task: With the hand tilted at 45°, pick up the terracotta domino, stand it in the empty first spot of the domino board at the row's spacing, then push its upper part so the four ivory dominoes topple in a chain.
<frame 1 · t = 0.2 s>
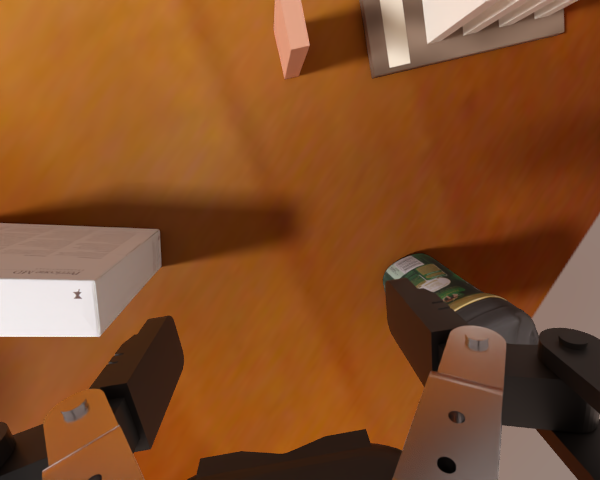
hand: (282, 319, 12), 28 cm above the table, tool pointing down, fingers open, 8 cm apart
skincare box: (71, 247, 39), on the table
domino 4: (504, 0, 36), point 1 cm above the table, touching domino board
coffee jar: (412, 285, 44), on the table
domino board: (461, 13, 37), on the table
domino 2: (431, 17, 35), point 1 cm above the table, touching domino board
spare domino: (286, 53, 36), on the table
domino 3: (468, 8, 36), point 1 cm above the table, touching domino board
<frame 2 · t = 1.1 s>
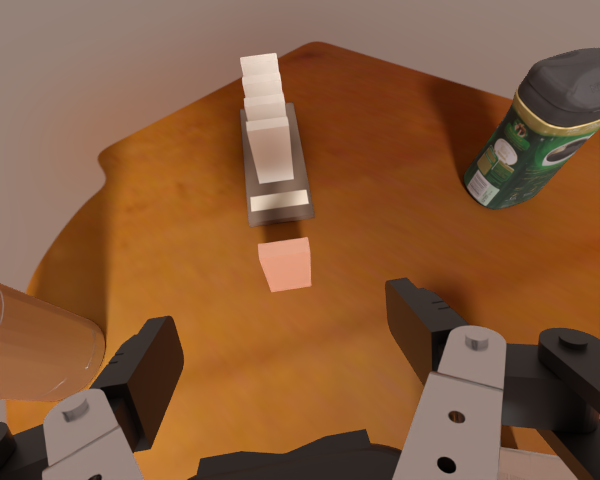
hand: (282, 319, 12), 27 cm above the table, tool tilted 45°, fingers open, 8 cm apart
domino 4: (270, 135, 52), point 1 cm above the table, touching domino board
domino 5: (268, 117, 53), point 1 cm above the table, touching domino board
coffee jar: (495, 186, 47), on the table
domino board: (274, 160, 50), on the table
domino 2: (276, 177, 48), point 1 cm above the table, touching domino board
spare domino: (290, 283, 41), on the table
domino 3: (273, 155, 50), point 1 cm above the table, touching domino board
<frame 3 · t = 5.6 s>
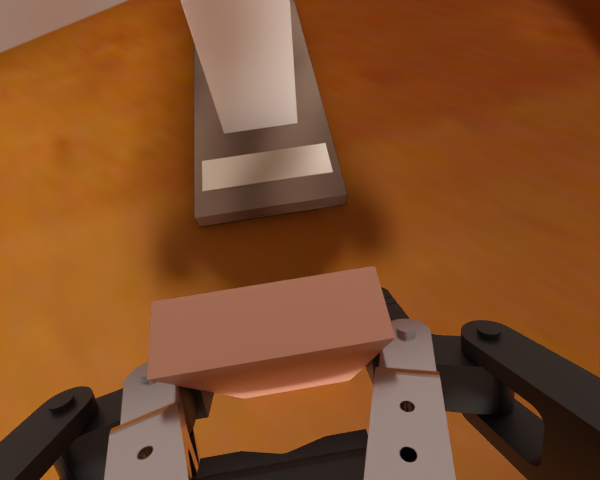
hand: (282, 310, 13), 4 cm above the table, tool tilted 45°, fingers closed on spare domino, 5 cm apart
domino board: (256, 93, 25), on the table
domino 2: (259, 120, 22), point 1 cm above the table, touching domino board
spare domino: (294, 371, 16), on the table, touching gripper
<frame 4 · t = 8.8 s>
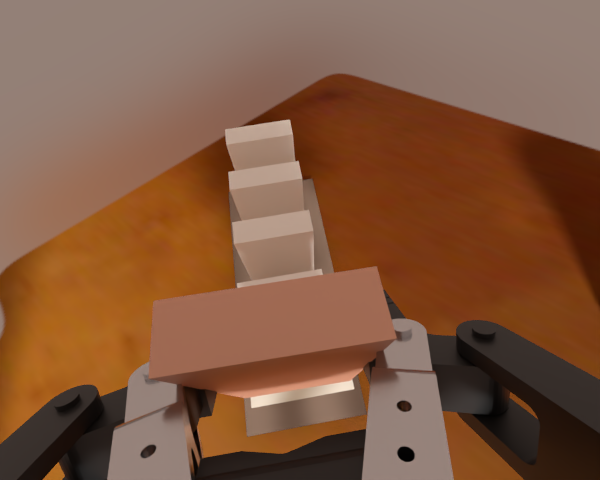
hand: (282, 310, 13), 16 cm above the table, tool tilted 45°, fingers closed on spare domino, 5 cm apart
domino 4: (279, 241, 31), point 1 cm above the table, touching domino board
domino 5: (273, 206, 33), point 1 cm above the table, touching domino board
domino board: (286, 287, 30), on the table
domino 2: (292, 328, 27), point 1 cm above the table, touching domino board
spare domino: (295, 371, 16), point 12 cm above the table, touching gripper
domino 3: (285, 282, 29), point 1 cm above the table, touching domino board
when the fingers open (6 cm above the table, at t = 11.7 s): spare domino stays where it is, resting on domino board.
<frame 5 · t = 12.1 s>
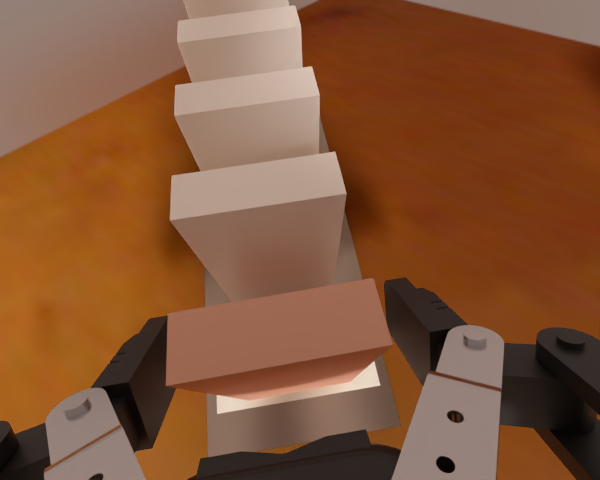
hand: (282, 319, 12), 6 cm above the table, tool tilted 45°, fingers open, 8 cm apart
domino 4: (268, 177, 22), point 1 cm above the table, touching domino board
domino 5: (262, 133, 24), point 1 cm above the table, touching domino board
domino board: (278, 239, 21), on the table
domino 2: (284, 294, 18), point 1 cm above the table, touching domino board
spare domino: (297, 373, 16), point 1 cm above the table, touching domino board
domino 3: (276, 230, 20), point 1 cm above the table, touching domino board
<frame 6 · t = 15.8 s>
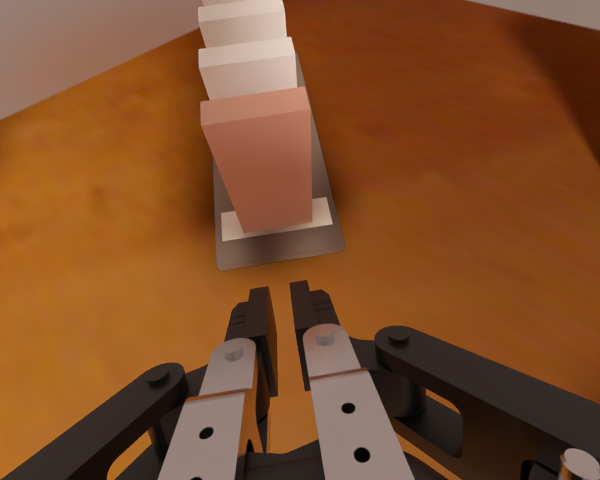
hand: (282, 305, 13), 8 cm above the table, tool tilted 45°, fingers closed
domino board: (266, 146, 29), on the table
domino 2: (269, 174, 26), point 1 cm above the table, touching domino board
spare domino: (276, 218, 24), point 1 cm above the table, touching domino board
domino 3: (264, 136, 28), point 1 cm above the table, touching domino board
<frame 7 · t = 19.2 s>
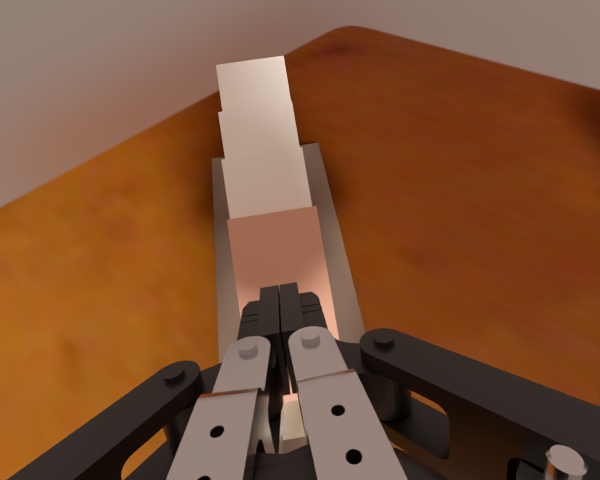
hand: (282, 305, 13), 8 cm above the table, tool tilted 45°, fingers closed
domino 4: (271, 195, 24), point 2 cm above the table, tilted 67°, touching domino 3, domino 5
domino board: (284, 279, 23), on the table
domino 2: (288, 315, 20), point 2 cm above the table, tilted 67°, touching domino 3, domino board, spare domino
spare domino: (300, 394, 18), point 2 cm above the table, tilted 68°, touching domino 2, domino board
domino 3: (279, 254, 22), point 2 cm above the table, tilted 67°, touching domino 2, domino 4, domino board
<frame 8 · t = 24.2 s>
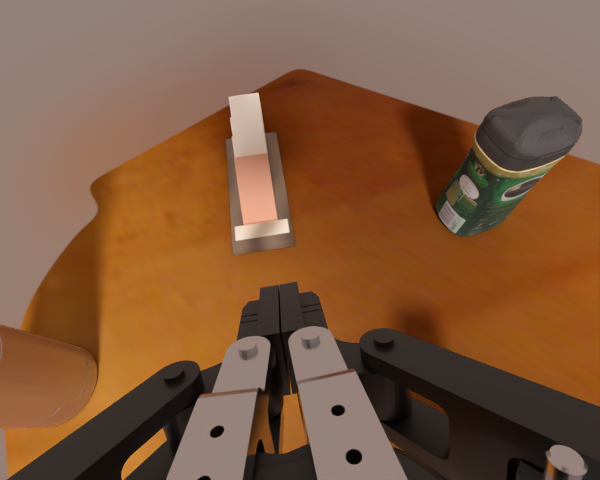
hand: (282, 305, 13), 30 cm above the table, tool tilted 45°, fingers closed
domino 4: (252, 154, 54), point 2 cm above the table, tilted 67°, touching domino 3, domino 5
coffee jar: (465, 213, 50), on the table
domino board: (257, 189, 53), on the table
domino 2: (257, 198, 50), point 2 cm above the table, tilted 67°, touching domino 3, domino board, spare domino
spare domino: (260, 222, 48), point 2 cm above the table, tilted 68°, touching domino 2, domino board
domino 3: (255, 177, 52), point 2 cm above the table, tilted 67°, touching domino 2, domino 4, domino board
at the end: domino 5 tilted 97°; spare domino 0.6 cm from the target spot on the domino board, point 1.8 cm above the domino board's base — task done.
